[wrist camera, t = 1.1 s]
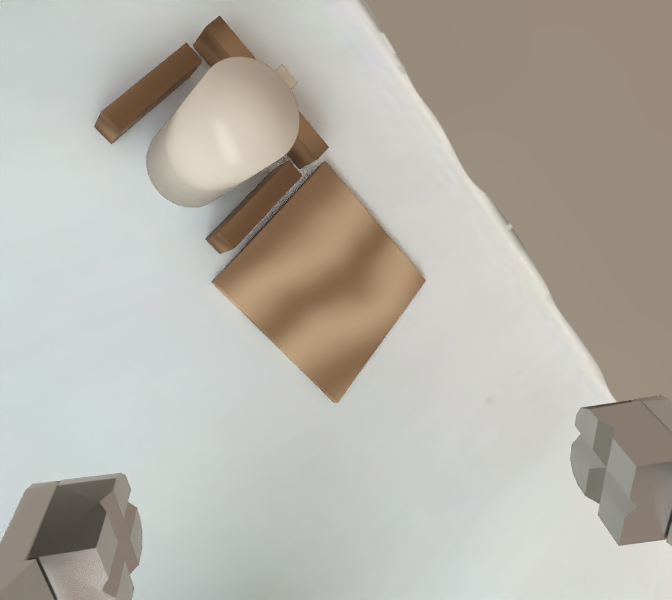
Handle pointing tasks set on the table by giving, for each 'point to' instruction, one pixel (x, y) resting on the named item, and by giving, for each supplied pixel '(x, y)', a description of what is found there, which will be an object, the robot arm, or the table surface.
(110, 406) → the table surface
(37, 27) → the table surface
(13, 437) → the table surface
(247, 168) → the white cylinder
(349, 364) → the square wooden board
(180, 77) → the holder
